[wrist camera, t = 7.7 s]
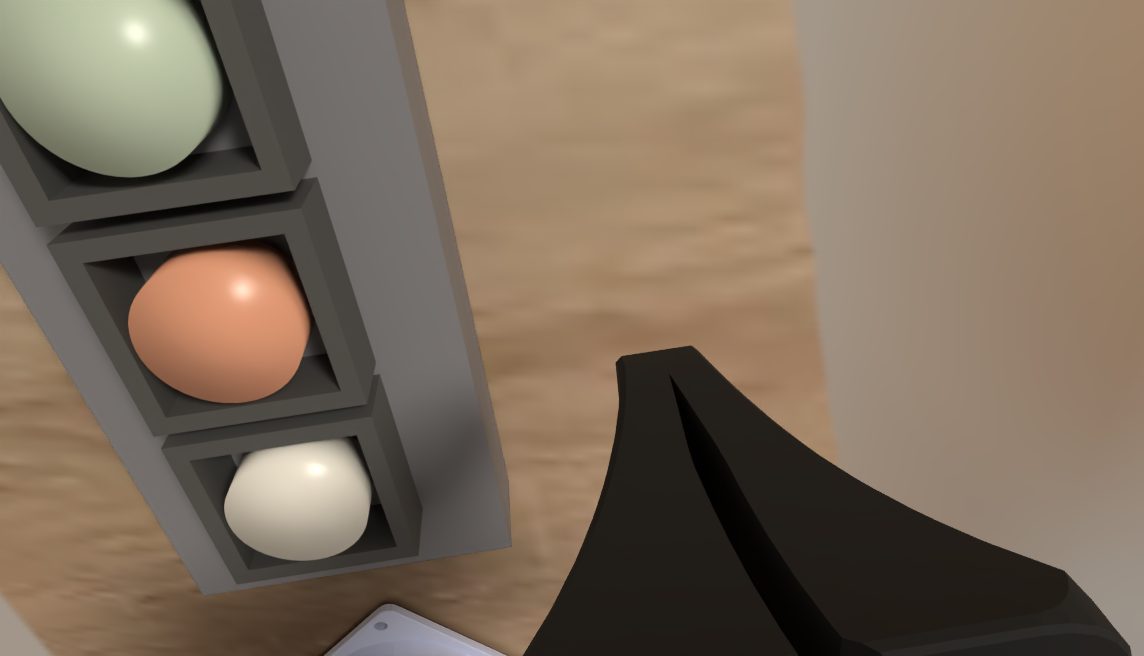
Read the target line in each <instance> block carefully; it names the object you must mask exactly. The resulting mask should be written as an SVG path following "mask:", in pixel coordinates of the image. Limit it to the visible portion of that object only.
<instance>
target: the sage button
mask: <svg viewBox="0 0 1144 656" xmlns="http://www.w3.org/2000/svg"><path fill="white" fill-rule="evenodd" d="M231 96H232V87H231V84H230V81H229V78H228V75H227V73H226V70H225V67H224V64H223V61H222V59H221V56H220V53H219V50H218V48H217V45H216V42H215V39H214V36H213V34H212V31H211V28H210V25H209V23H208V20H207V17H206V14H205V11H204V9H203V7H202V6H201V5H200V4H199V3H198V2H197V1H196V0H0V98H1V99H2V101H3V103H4V104H5V106H6V108H7V109H8V111H9V112H10V113H11V114H12V116H13V117H14V118H15V120H16V121H17V122H18V123H19V124H20V125H21V126H22V128H23V129H24V130H25V131H26V132H27V133H28V134H29V135H31V136H32V137H33V138H34V139H35V140H36V141H37V142H38V143H40V144H41V145H42V146H44V147H45V148H46V149H48V150H49V151H50V152H52V153H54V154H55V155H57V156H59V157H60V158H62V159H64V160H66V161H68V162H70V163H72V164H74V165H76V166H78V167H81V168H84V169H86V170H89V171H92V172H96V173H100V174H104V175H109V176H116V177H142V176H148V175H152V174H157V173H159V172H162V171H165V170H167V169H169V168H171V167H173V166H175V165H177V164H178V163H179V162H181V161H182V160H183V159H184V158H186V157H187V156H188V155H189V154H190V153H191V152H192V151H193V150H194V149H195V148H196V147H197V146H198V145H199V144H200V143H201V142H202V141H203V140H204V139H205V138H206V137H207V136H208V135H209V134H210V133H211V132H212V131H213V130H214V129H215V128H216V127H217V126H218V125H219V123H220V122H221V120H222V119H223V117H224V116H225V113H226V111H227V109H228V107H229V103H230V100H231Z"/></svg>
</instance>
